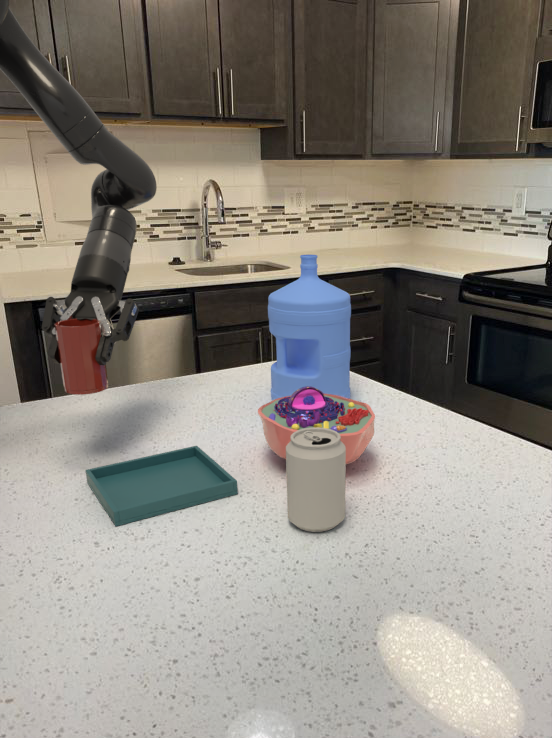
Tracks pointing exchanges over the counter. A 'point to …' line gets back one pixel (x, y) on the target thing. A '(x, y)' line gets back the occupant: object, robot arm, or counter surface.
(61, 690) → the counter surface
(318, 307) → the water jug
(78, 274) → the robot arm
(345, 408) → the cell model
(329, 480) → the can
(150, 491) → the rectangular tray
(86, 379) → the cup
